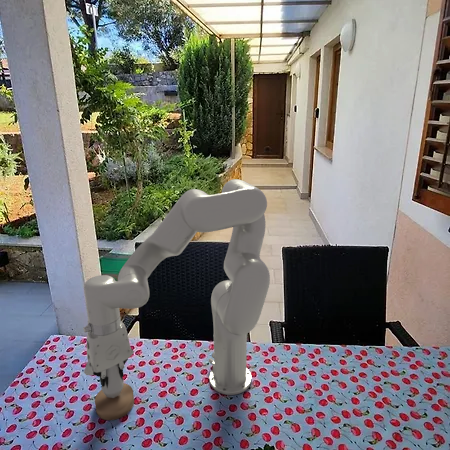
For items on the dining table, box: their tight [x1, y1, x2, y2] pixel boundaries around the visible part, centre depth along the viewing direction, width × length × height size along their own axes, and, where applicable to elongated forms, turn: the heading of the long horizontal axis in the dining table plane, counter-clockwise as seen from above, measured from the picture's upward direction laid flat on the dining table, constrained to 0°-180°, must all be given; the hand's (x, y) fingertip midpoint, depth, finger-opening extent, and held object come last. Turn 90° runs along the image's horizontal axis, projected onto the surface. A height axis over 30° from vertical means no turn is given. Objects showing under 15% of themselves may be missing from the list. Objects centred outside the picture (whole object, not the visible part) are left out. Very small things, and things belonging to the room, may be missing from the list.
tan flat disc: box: [94, 382, 135, 421], centre depth 93 cm, size 10×10×3 cm
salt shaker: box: [100, 364, 125, 398], centre depth 91 cm, size 6×6×13 cm
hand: (112, 382), depth 91 cm, fingers closed on salt shaker, 3 cm apart
